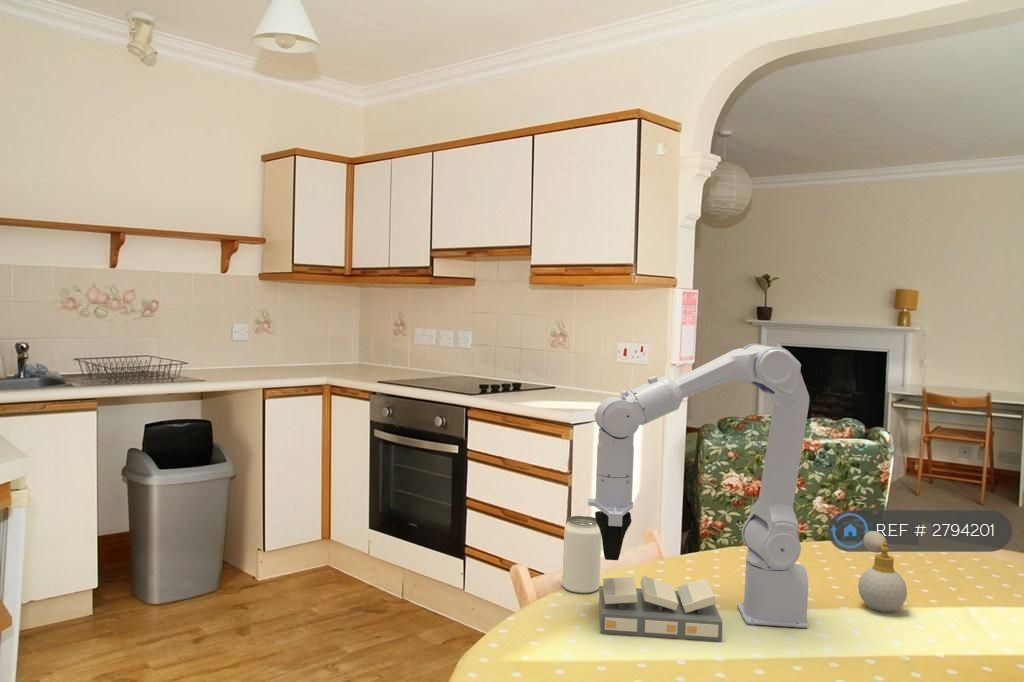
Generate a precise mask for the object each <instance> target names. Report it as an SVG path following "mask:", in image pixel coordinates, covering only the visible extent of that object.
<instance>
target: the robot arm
mask: <svg viewBox="0 0 1024 682" xmlns="http://www.w3.org/2000/svg"><path fill="white" fill-rule="evenodd" d="M801 367H802V364H801V363H800V361H799V360H798V359H797V358H796V357H795V356H794V355H793V354H792V353H791V352H790V351H789V350H788V349H786V348H784V347H780V346H768V345H763V344H761V343H750V344H747V345H746V346H744V347H743V348H742V347H741V348H736V349H733V350H730V351H729V352H727V353H724V354H723V355H720V356H718V357H717V358H715V359H713V360H711V361H709V362H707V363H704V364H703V365H701V366H698V367H697V368H695V369H692V370H691V371H688V372H686V373H684V374H682V375H680V376H678V377H677V378H674V379H671V378H669V377H667V376H664V375H663V376H660V377H657V376H655V375H653V376H650V377H648V378H647V383H644V384H642V385H640V386H638V387H635V388H633V389H631V390H629V391H628V390H627V389H624V390H621V392H620V395H621V396H620V397H619V396H609V397H607V398H605V399H603V400H602V401H601V402H600V404H599V405H598V407H597V408H596V411H595V413H594V421H595V422H596V424H597V426H598V427H599V428H598V435H597V437H598V438H597V439H598V442H597V447H596V448H597V449H596V474H595V477H596V479H595V498H589V499H587V505H588V506H589V507H595V508H596V509H598V511H595V513H594V516H595V517H594V518H595V519H596V522H597V524H598V526H599V529H600V532H601V544H602V551H603V557H604V560H606V561H619V559H620V555H621V551H622V547H623V543H624V539H625V535H626V532H627V531H628V529H629V528H630V526H631V524H632V516H631V515H632V514H631V512H630V511H631V510H632V509H633V508H634V502H633V486H634V485H633V482H634V481H633V480H634V479H633V478H634V474H633V473H634V453H635V447H634V436H635V434H636V432H637V431H638V429H639V427H640V425H641V426H644V425H647V424H648V423H650V422H653V421H655V420H657V419H659V418H662V417H663V416H666V415H669V414H670V413H673V412H674V411H675V412H676V411H678V410H679V408H680V406H681V404H682V402H683V399H685V398H688V397H690V396H692V395H694V394H697V393H699V392H702V391H705V390H707V389H710V388H712V387H715V386H717V385H720V384H722V383H725V382H727V381H738V382H747V383H748V382H749V383H750V384H751V385H753V386H755V387H757V388H758V390H759V389H760V391H761V392H762V394H764V396H765V397H766V398H767V399H768V400H769V401H770V402H771V404H772V411H771V417H770V424H769V429H768V435H767V436H768V437H767V441H766V442H767V443H766V447H765V448H766V449H765V457H764V462H763V468H762V475H761V482H760V489H759V495H758V499H757V500H756V501H755V502H754V503H753V505H752V506H751V507H750V512H749V516H748V518H747V520H746V521H745V522H744V524H743V527H742V529H741V537H742V538H741V539H742V542H743V544H744V545H745V546H746V547H747V553H746V558H745V571H744V572H745V577H744V591H743V592H744V594H743V595H744V596H743V602H737V605H736V606H737V607H738V610H739V612H740V614H741V616H742V618H743V619H744V622H745V623H746V624H747V625H758V626H759V625H761V626H776V627H786V628H787V627H791V628H803V629H804V628H805V629H806V628H808V623H807V620H808V619H807V617H808V616H807V615H808V600H809V599H808V597H809V578H808V576H809V575H808V573H807V570H806V569H807V568H806V567H805V566H804V565H803V564H798V563H796V562H798V560H799V558H800V555H801V550H802V546H801V542H800V538H799V535H798V534H799V533H798V532H799V526H800V525H799V521H798V519H797V516H796V514H795V510H794V501H795V495H796V489H797V482H798V478H799V477H798V476H799V471H800V463H801V459H802V458H801V457H802V453H803V452H802V451H803V446H804V445H803V444H804V439H805V431H806V427H807V426H806V425H807V420H808V412H809V408H810V407H809V406H810V395H809V391H808V390H807V386H806V384H805V381H804V378H803V375H802V372H801V369H802V368H801Z"/></svg>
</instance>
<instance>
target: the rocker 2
mask: <svg viewBox="0 0 1024 682" xmlns="http://www.w3.org/2000/svg"><path fill="white" fill-rule="evenodd" d="M676 589H677V591H678V593H679V596H680V599H681V602H682V605H683V608H684V610H685V613H688V612H691V611H694V610H697V609H700V608H704V607H707V606H710V605H713V604H715V605H716V604H718V602H717V599H716V597H715V594H714V591H713V590H712V586H711V585H710V582H709V580H708V577H704V578H701V579H698V580H696V581H695V580H694V581H693V582H688V583H686V584H682V585H680V586H679V585H678V586H677V587H676Z"/></svg>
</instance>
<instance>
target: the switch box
mask: <svg viewBox="0 0 1024 682" xmlns="http://www.w3.org/2000/svg"><path fill="white" fill-rule="evenodd" d="M674 591H675V594H676V597H677V601H678V606H677V609H676V610H673V609H669V608H666V607H663V606H660V605H657V604H653V603H650V602H647V601H644V597H643V592H642V588H636V592H637V600H638V602H631V603H615V604H605V600H604V588H603V585H599V588H598V611H599V629H600V634H603V633H604V635H605V634H606V635H618V636H619V635H620V636H635V637H647V638H648V637H650V638H652V637H653V638H664V639H677V640H678V639H681V640H692V641H694V640H695V641H705V642H706V641H707V642H723V641H722V639H723V620H722V618H721V615H720V612H719V610H718V609H717V606H716V604H713V605H710V606H707V607H704V608H700V609H697V610H694V611H691V612H688V613H685V610H684V608H683V605H682V602H681V599H680V596H679V593H678V590H674Z"/></svg>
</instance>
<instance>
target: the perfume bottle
mask: <svg viewBox="0 0 1024 682" xmlns="http://www.w3.org/2000/svg"><path fill="white" fill-rule="evenodd" d="M862 540H863V545H864V546H865V547H866V549H868V550H869V551H870V552H873V553H876V554H875V555H874V563H873V565H872V567H869V568H867V569H866V570H865V571H863V573H862V574H861V576H860V577H859V579H858V585H857V587H858V588H857V589H858V593H859V596H860V598H861V600H862V601H863V602H864V604H865V605H866V606H867V607H869V608H870V609H872V610H874V609H875V610H874V611H877V610H878V611H877V612H882V611H883V612H884V613H890V612H891V613H892V612H894V611H898V610H899V609H900V608H901V607H902V606H903V605H904V603H905V601H906V600H907V597H908V596H907V595H908V590H907V589H908V588H907V585H906V582H905V580H904V578H903V577H902V576H901V574H900V573H898V572H897V571H896V570H895V568H894V560H895V558H894V557H893V556H891V555H889V554H888V553H889V551H890V549H889V547H888V543H887V542H888V541H887V539H886V537H885V536H884V535H883V534H882V533H881V532H879V531H876V530H870V531H868V532H866V533H865V534H864V536H863V539H862ZM877 553H879V554H877Z"/></svg>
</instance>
